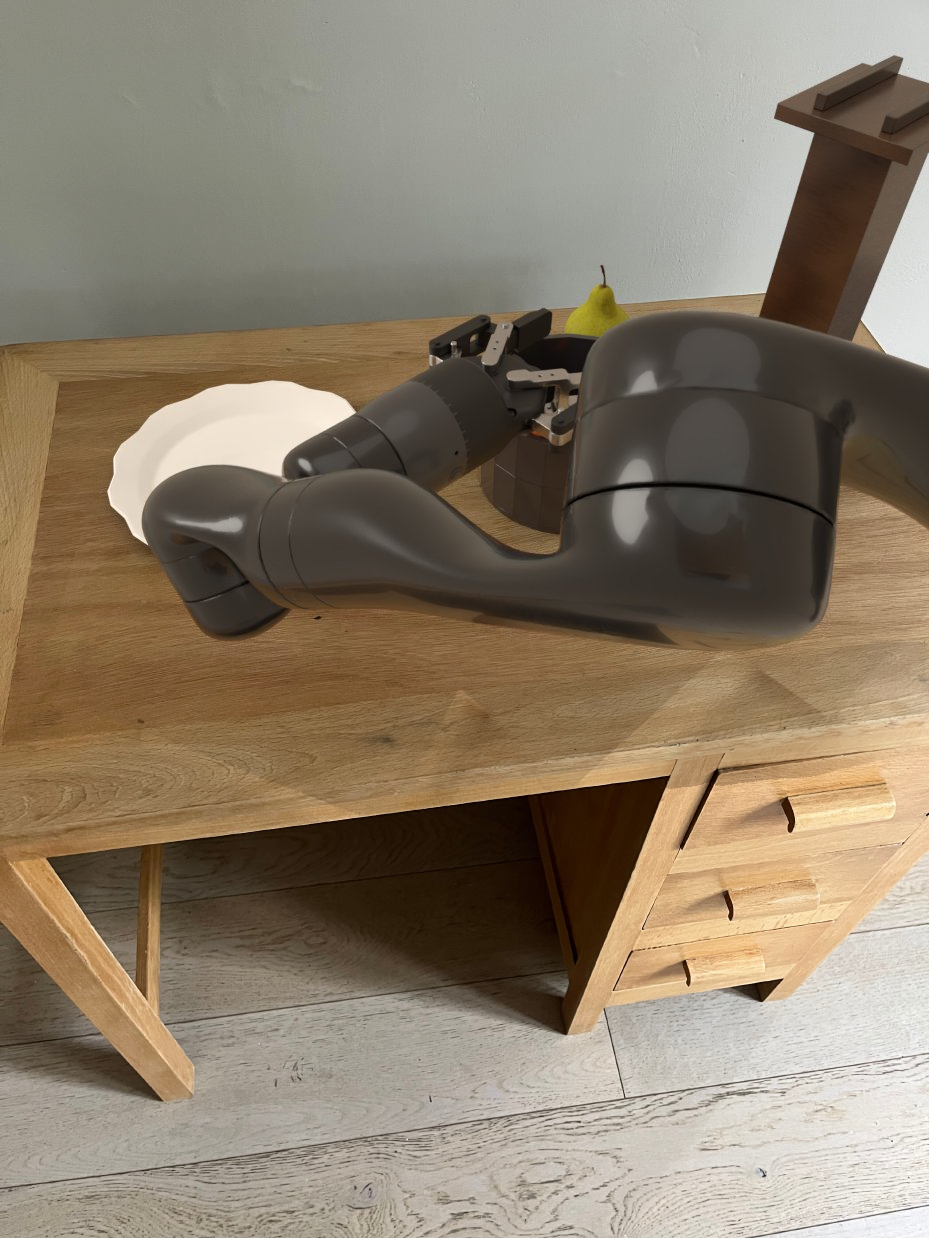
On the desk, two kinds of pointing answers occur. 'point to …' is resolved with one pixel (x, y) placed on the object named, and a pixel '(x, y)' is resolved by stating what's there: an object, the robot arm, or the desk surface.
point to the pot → (535, 448)
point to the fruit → (596, 313)
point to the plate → (219, 437)
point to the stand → (847, 193)
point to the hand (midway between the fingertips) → (585, 341)
